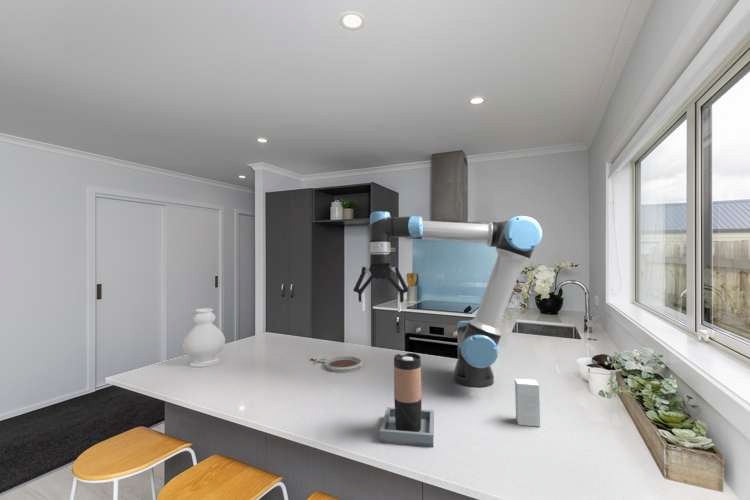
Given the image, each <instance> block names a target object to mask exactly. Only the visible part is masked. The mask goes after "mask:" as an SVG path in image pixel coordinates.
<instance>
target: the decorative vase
mask: <svg viewBox="0 0 750 500" xmlns="http://www.w3.org/2000/svg"><path fill="white" fill-rule="evenodd" d="M194 310H195V313H196V314H195V315H194V316H193V317H192V321H193V322H194V323H195V324H196V325H194V327H193V328H192V329H191V330H190V331H189V332H188V333H187V334H186V336H185V337H184V340H183V342H182V350H183V351H184V353H185V355H187V357H188V358H189V359H191V361H190V362H189V367H192V368H205V367H210V366H214V365H216V364H218V363H219V362H220V358H219V357H218V356H219V354H220V353H221V352H222V350H223V349H224V347H225V346H226V336H225V335H224V333H223V332H222V330H221V329H220V328H218V326H216V325H215V324H213V322H215V320H216V314H214V313H213V311H214V308H213V307H208V308H207V307H202V308H201V307H200V308H196V309H194Z"/></svg>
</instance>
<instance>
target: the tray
mask: <svg viewBox="0 0 750 500" xmlns="http://www.w3.org/2000/svg"><path fill="white" fill-rule="evenodd" d="M434 414H435V413H434V410H433V409H432V410H431V409H421V430H420V431H419V432H411V431H398V430H397V429H396V424H395V407H392V406H391V407H386V409H385V413H384V416H383V420H382V422H381V426H380V429H379V443H385V444H396V445H407V446H416V447H427V448H434V440H435V439H434V431H435V429H434V428H435V417H434V416H435V415H434Z"/></svg>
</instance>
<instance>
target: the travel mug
mask: <svg viewBox="0 0 750 500" xmlns="http://www.w3.org/2000/svg"><path fill="white" fill-rule="evenodd" d="M421 360H422V359H421V356H420V355H419V354H416V353H412V352H407V353H405V354H400V353H397V354H395V355H394V356H393V384H394V385H393V386H394V388H393V393H394V394H393V395H394V396H393V397H394V399H393V400H394V402H393V403H394V408H395V424H396V429H397V430H398V431H411V432H419V431H420V430H421V410H422V370H421V369H422V368H421V367H422V365H421V364H422V363H421V362H422V361H421Z"/></svg>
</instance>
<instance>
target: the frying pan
mask: <svg viewBox="0 0 750 500" xmlns="http://www.w3.org/2000/svg"><path fill="white" fill-rule="evenodd" d="M308 360H309V361H310V362H311V361H313V365H314V366H315V365H316V364H317V363H324V364H323V365H324V366H325V369H326V370H327V371H329V372H332V373H333V372H334V373H339V374H340V373H343V374H344V373H351V372H355V371H358V370H359V369H360V368H362V365H363V361H362V359H361V358H360V357H357V356H351V355H341V356H340V355H339V356H334V357H331V358H328V359H327V358H326V357H321V358H319V359H318V358H317V359H316V358H312V357H309V359H308Z"/></svg>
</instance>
